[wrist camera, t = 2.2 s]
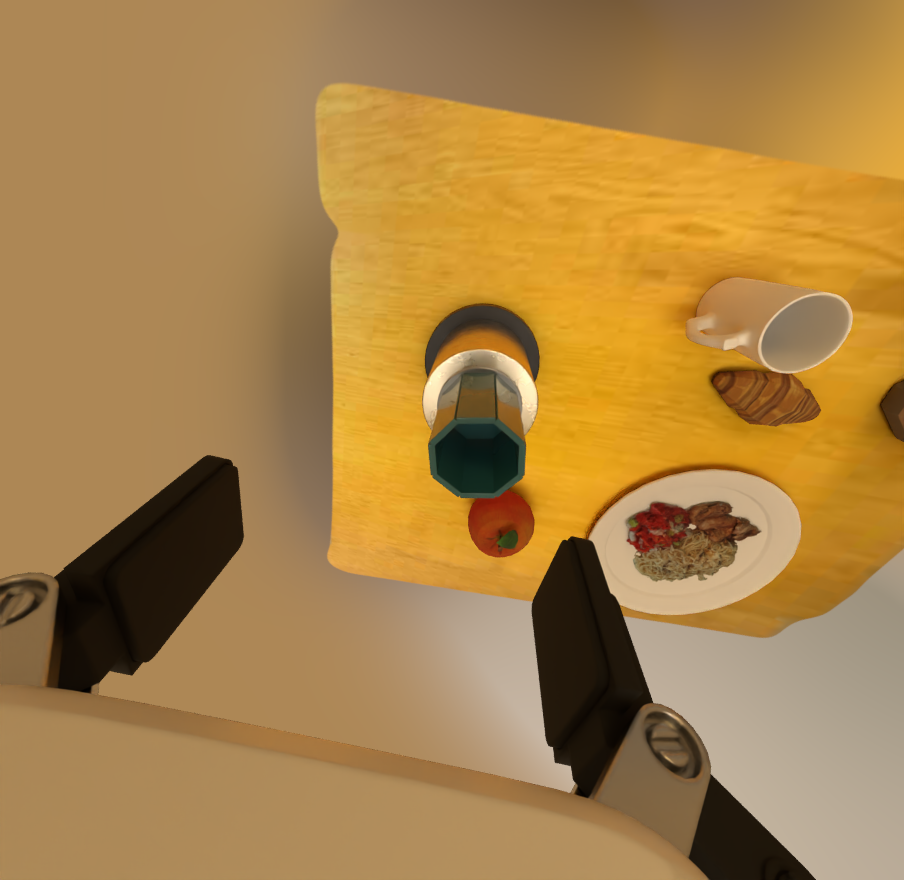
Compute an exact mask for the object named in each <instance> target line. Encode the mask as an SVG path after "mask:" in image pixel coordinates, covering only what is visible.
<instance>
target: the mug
mask: <svg viewBox="0 0 904 880" xmlns="http://www.w3.org/2000/svg"><path fill="white" fill-rule="evenodd" d="M852 321H853V315H852V310H851V307H850V305H849V304H848V302H847V301H846V300H845V299H844V298H842V297H841V296H839V295H836V294H833V293H828V292H822V291H818V290H813V289H808V288H802V287H796V286H790V285H784V284H778V283H772V282H767V281H761V280H755V279H748V278H741V277H734V278H729V279H725V280H723V281H721V282H719V283H717V284H715V285H714V286H713V287H711V288H710V289H709V290H708V291H707V292H706V293H705V294H704V296H703V297H702V299H701V300H700V302H699V305H698V308H697V313H696V318H691V319H688V320H687V322H686V336H687V338H688V339H689V340H691V341H693V342H695V343H698V344H701V345H705V346H709V347H714V348H719V349H722V350H724V351H725V350H729V349H734V350H736V351H738V352H740V353H741V354H743V355H745V356H747V357H748V358H750V359H752V360H754V361H755V362H757V363H759V364H761V365H763V366H765V367H767V368H768V369H770V370H772V371H775V372H779V373H797V372H801V371H805V370H808V369H810V368H812V367H815V366H817V365H818V364H820V363H822V362H823V361H825V360H826V359H828V358H829V357H830V356H831V355H832V354H834V353H835V352H836V351H837V350H838V349H839V347H840V346H841V345H842V344H843V342H844V341H845V339H846V338H847V336H848V334H849V332H850V329H851V326H852ZM700 330H703V331H704V332H705V333H707V334H708V335H707V334H703V333H701V332H699V331H700Z"/></svg>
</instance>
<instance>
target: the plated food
mask: <svg viewBox="0 0 904 880" xmlns="http://www.w3.org/2000/svg"><path fill="white" fill-rule="evenodd" d="M800 535H801V521H800V517H799V513H798V510H797V508H796V507H795V505H794V503H793V502H792V500H791V499H790V497H789V496H788V495H786V494H785V493H784V492H783V491H782V490H781V489H779V488H778V487H777V486H776V485H775V484H773V483H771V482H769V481H767V480H765V479H762V478H760V477H758V476H755V475H751V474H748V473H744V472H740V471H733V470H720V469H708V470H695V471H687V472H683V473H678V474H674V475H669V476H666V477H663V478H660V479H658V480H655V481H652V482H650V483H647V484H645V485H643V486H641V487H639V488H637V489H636V490H634V491H632V492H630V493H628V494H626V495H625V496H624V497H622V498H621V499H620V500H619V501H617V502H616V503H615V504H613V505H612V506H611V507H610V508H609V509H608V510H607V511H606V512H605V513H604V514H603V515H602V516H601V518H600V519H599V520H598V521H597V523H596V524H595V526H594V528H593V530H592V531H591V533H590V535H589V538H588V540H591V541H592V542H593V543H594V545H595V548H596V551H597V554H598V557H599V560H600V563H601V566H602V569H603V572H604V575H605V578H606V581H607V584H608V587H609V590H610V593H611V594H613V595H614V596H615V597H616V599H617V601H618V603H619V604H620V605H622V606H625V607H627V608H630V609H633V610H637V611H641V612H645V613H652V614H662V615H681V614H691V613H698V612H704V611H708V610H712V609H716V608H720V607H723V606H726V605H728V604H731V603H734V602H736V601H739V600H741V599H743V598H745V597H747V596H749V595H751V594H753V593H754V592H756V591H758V590H759V589H761V588H762V587H764V586H765V585H766V584H768V583H769V582H771V581H772V580H773V579H774V578H775V577H776V576H777V575H778V574H779V573H780V572H781V571H782V570H783V569H784V568H785V567H786V566H787V564H788V563H789V561H790V560H791V558H792V557H793V555H794V554H795V551H796V549H797V546H798V544H799V541H800Z"/></svg>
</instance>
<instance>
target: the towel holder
mask: <svg viewBox="0 0 904 880" xmlns="http://www.w3.org/2000/svg"><path fill="white" fill-rule="evenodd" d="M425 369H426V374H427V378H428V379H427V382H426V384H425V388H424V391H423V398H422V406H423V413H424V416H425V419H426V421H427V423H428V426H429V427H430V429H431V430H432V429H433V425H434V421H435V417H436V414H437V410H438V406H439V403H440V399H441V396H442V393H443V392H444V391H445V390H446V389H447V388H448V387H449V386H450V385H451V384H452V383H453V382H454V381H455V380H456V379H457V378H458V377H459V376H460V375H461V374H462V375H463V374H464V373H494V375H495V374H497V375H498V376H499V377H500V378H502V379H503V380H504V381H505V382H506V383H507V384H508V385H509V386H510V387H511V388H512V389H513V390H514V391H515V392H516V393H517V395H518V400H519V406H520V412H521V418H522V424H523V430H524V436H525V435H526V434H527V432H528V431H529V430H530V428H531V427H532V425H533V423H534V420H535V418H536V414H537V410H538V394H537V389H536V386H535V380H536V378H537V374H538V370H539V350H538V346H537V342H536V340H535V338H534V335H533V333H532V331H531V330H530V328H529V327H528V325H527V324H526V323H525V322H524V321H523V320H522V319H521V318H520V317H519V316H518V315H516V314H515V313H513V312H512V311H510V310H508V309H506V308H503V307H500V306H497V305H492V304H473V305H469V306H465V307H463V308H460V309H458V310H456V311H454V312H452V313H451V314H450V315H448V316H447V317H445V318H444V319H443V320H442V321H441V322H440V324H439V325H438V326H437V327H436V329H435V330H434V332H433V334H432V336H431V338H430V340H429V342H428V345H427V349H426V354H425Z"/></svg>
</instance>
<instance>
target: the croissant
mask: <svg viewBox="0 0 904 880" xmlns="http://www.w3.org/2000/svg"><path fill="white" fill-rule="evenodd" d="M712 383H713V385H714V386H715V388H716V389H717V391H718V392H719V394H720V395H721V397H722V398H723V400H724V401H725V402H726V404H727V405H728V406H729V407H731V408H734V409H735V410H736V412H737V414H738V415H739V416H740V417H741V418H742V419H744V420H745V421H747V422H748V423H749V424H759V425H769V426H779V425H781V424H790V423H800V422H806V421H809V420H813V419H814V418H815V417H817V416H818V415H819V413H820V411H821V409H820V407H819V405H818V403H817V401H816V400H815V398H814V396H813V395H812V393H811V391H810V390H809V389H806V388H804V387H803V385H802V383H801V382H800V381H799V380H798V379H797V378H796V377H795V376H793V375H792V374H786V373H776V372H771V373H761V372H759V371H756V370H753V371H727V372H718V373H717V374H716V375H715V376H714V377H713V379H712Z"/></svg>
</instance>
